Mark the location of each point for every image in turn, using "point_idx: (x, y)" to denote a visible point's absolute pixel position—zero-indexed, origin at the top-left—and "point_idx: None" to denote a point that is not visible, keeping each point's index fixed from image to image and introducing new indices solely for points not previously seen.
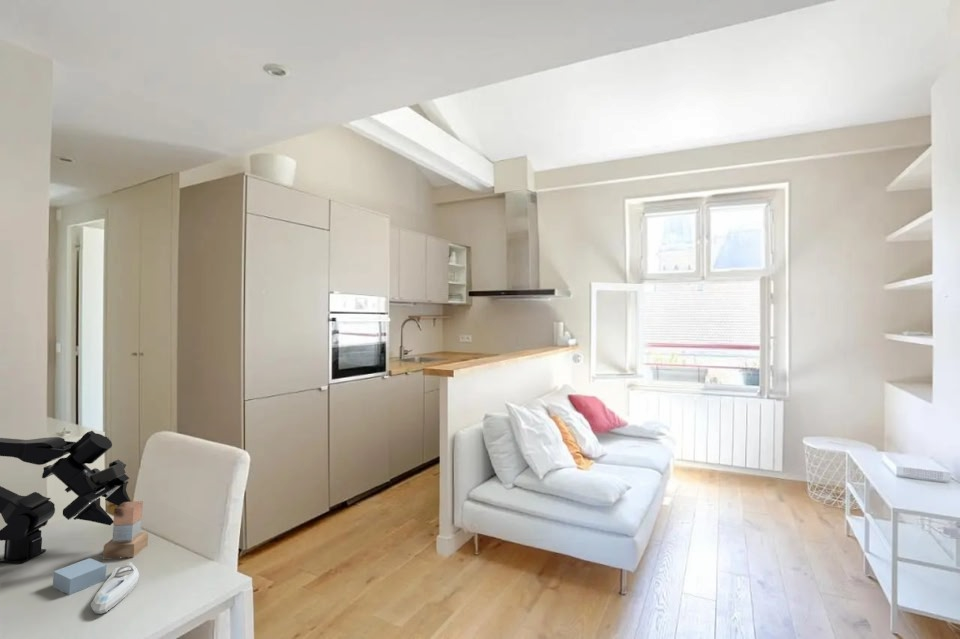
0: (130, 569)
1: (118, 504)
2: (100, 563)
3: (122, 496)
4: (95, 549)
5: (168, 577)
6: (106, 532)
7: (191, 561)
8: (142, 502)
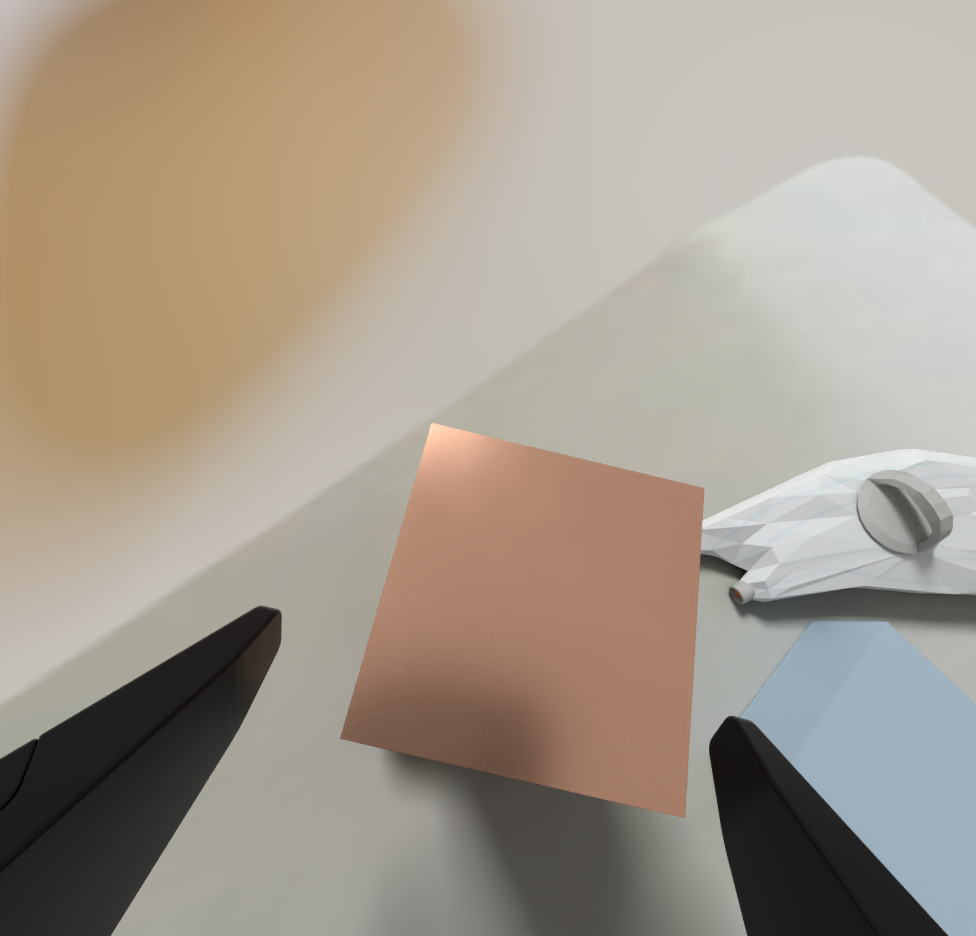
0: (847, 495)
1: (137, 875)
2: (863, 668)
3: (17, 892)
4: (361, 846)
5: (815, 357)
6: None
7: (683, 292)
8: (437, 432)
